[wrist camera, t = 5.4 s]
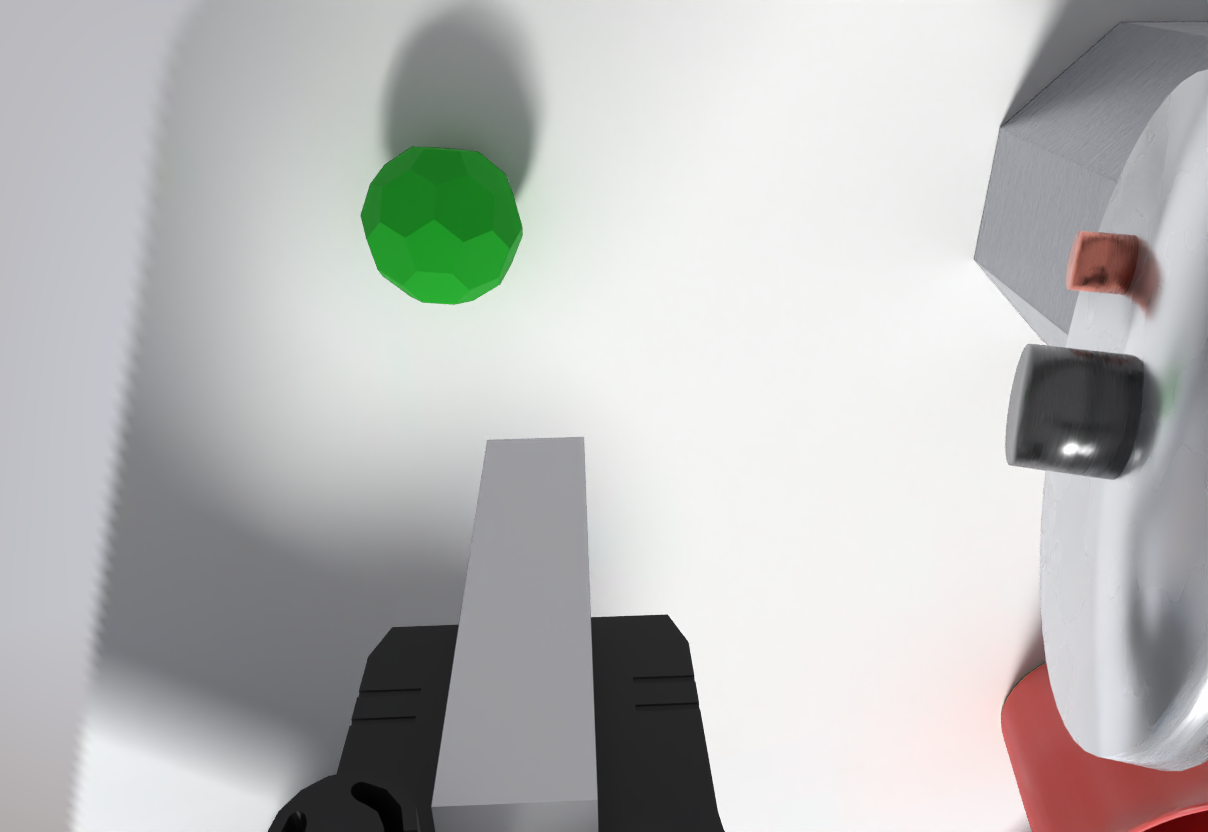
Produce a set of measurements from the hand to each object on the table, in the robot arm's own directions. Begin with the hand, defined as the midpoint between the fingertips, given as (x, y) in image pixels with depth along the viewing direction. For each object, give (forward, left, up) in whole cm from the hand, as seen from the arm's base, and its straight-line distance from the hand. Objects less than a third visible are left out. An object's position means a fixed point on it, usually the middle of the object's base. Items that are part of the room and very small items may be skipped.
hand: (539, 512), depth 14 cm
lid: (+13, 0, -3) cm, 13 cm away
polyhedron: (-3, 0, -19) cm, 19 cm away
